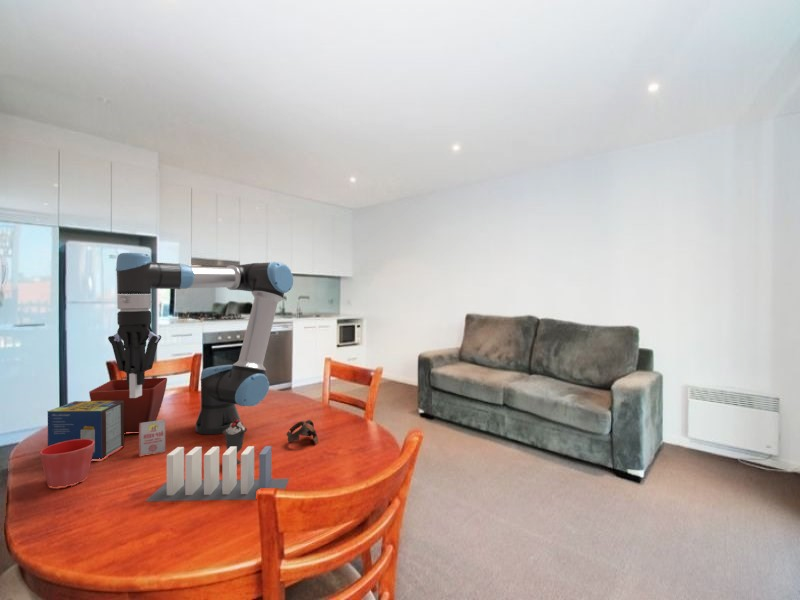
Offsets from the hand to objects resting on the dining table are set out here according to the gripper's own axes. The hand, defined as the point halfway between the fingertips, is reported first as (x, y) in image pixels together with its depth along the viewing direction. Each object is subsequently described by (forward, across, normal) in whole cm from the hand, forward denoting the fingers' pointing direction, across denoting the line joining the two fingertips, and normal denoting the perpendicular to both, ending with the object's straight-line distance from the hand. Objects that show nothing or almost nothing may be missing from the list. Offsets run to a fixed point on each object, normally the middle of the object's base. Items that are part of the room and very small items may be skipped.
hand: (135, 396), depth 101 cm
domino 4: (+22, +28, -7) cm, 37 cm away
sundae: (+23, +23, +8) cm, 33 cm away
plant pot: (+22, -26, +36) cm, 50 cm away
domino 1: (+22, +15, -8) cm, 27 cm away
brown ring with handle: (+23, +40, +24) cm, 52 cm away
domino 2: (+22, +19, -8) cm, 30 cm away
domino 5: (+22, +33, -7) cm, 40 cm away
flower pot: (+22, -16, -2) cm, 28 cm away
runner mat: (+23, +26, -7) cm, 35 cm away
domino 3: (+22, +24, -7) cm, 33 cm away
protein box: (+22, -25, +14) cm, 36 cm away
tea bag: (+23, -6, +16) cm, 28 cm away
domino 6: (+22, +37, -7) cm, 44 cm away
